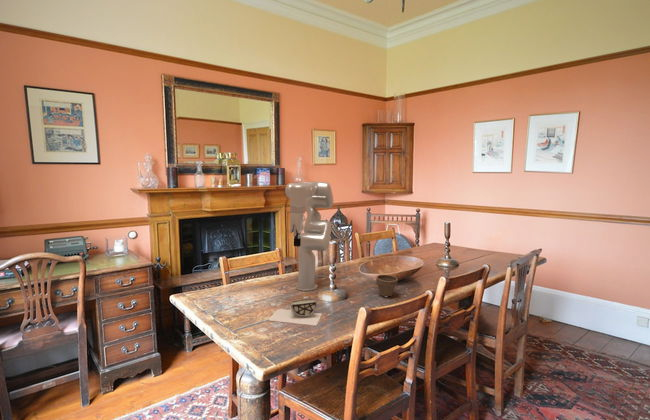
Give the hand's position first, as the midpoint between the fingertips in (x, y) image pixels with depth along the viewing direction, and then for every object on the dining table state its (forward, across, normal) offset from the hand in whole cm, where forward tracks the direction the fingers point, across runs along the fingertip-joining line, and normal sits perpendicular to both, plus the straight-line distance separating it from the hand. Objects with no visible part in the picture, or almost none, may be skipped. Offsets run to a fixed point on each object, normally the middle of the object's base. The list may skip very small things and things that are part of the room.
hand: (297, 246), depth 180 cm
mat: (+29, +18, +5) cm, 35 cm away
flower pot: (+29, -21, +45) cm, 58 cm away
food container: (+27, +9, +6) cm, 29 cm away
